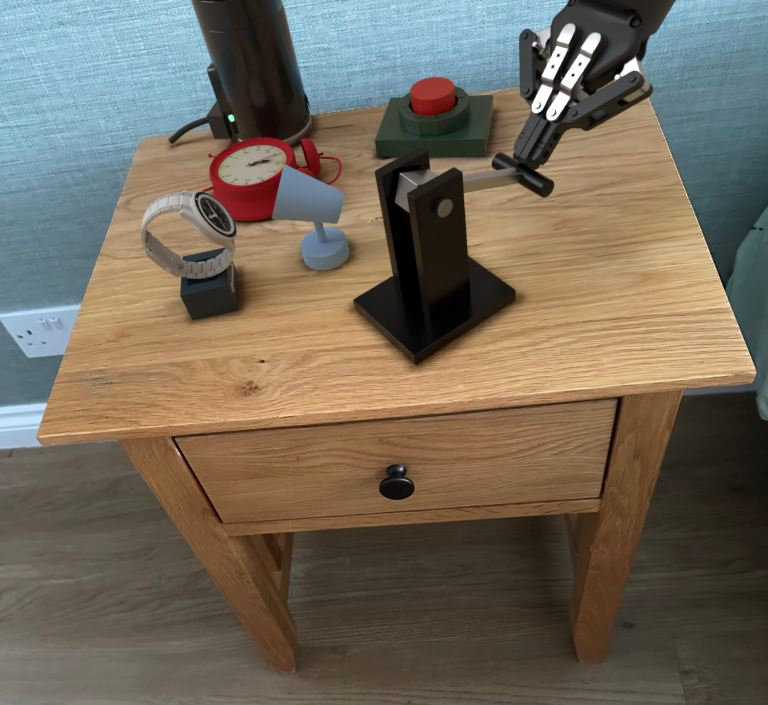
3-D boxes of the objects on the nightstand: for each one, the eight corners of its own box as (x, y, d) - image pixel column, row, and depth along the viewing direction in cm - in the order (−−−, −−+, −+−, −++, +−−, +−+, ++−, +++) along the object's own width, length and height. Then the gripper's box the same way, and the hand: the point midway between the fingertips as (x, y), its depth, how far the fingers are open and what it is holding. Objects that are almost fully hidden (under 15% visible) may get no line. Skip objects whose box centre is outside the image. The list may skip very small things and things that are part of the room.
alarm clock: (205, 142, 78) (327, 101, 73) (234, 187, 82) (350, 151, 77) (182, 199, 71) (315, 158, 66) (214, 244, 75) (341, 209, 71)
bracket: (450, 251, 65) (438, 118, 55) (516, 299, 60) (516, 162, 50) (354, 308, 62) (323, 179, 52) (415, 365, 57) (393, 233, 46)
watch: (258, 305, 64) (221, 209, 56) (173, 323, 64) (123, 230, 56) (256, 266, 68) (221, 171, 60) (176, 283, 68) (129, 190, 60)
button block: (377, 157, 78) (371, 125, 75) (392, 114, 83) (388, 82, 80) (485, 157, 75) (483, 123, 72) (493, 112, 80) (492, 79, 77)
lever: (500, 172, 61) (507, 146, 60) (550, 201, 57) (558, 174, 56) (380, 192, 54) (384, 162, 52) (427, 226, 50) (433, 195, 49)
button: (408, 117, 75) (406, 100, 74) (416, 94, 78) (414, 77, 77) (452, 116, 74) (451, 98, 73) (458, 93, 77) (457, 75, 76)
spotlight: (284, 275, 66) (355, 269, 66) (255, 188, 59) (334, 180, 58) (290, 241, 70) (358, 235, 69) (263, 155, 62) (339, 147, 61)
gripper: (556, -91, 53) (445, 120, 59) (704, -57, 45) (560, 184, 51) (600, -41, 59) (495, 148, 64) (738, -3, 51) (605, 209, 56)
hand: (524, 164), depth 57 cm, fingers closed
